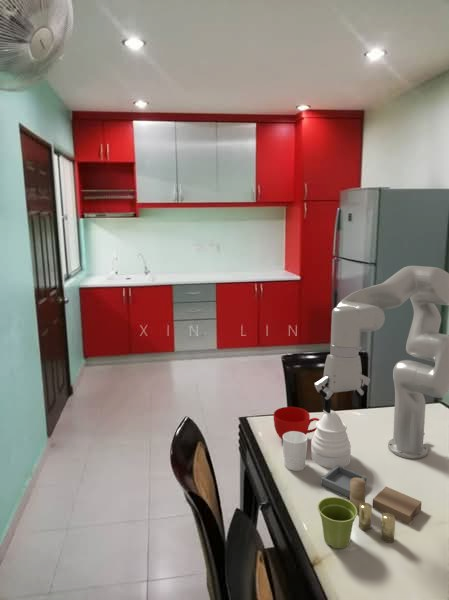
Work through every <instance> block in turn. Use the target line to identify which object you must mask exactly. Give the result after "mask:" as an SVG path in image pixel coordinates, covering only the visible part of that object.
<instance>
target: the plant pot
mask: <svg viewBox="0 0 449 600" xmlns="http://www.w3.org/2000/svg"><path fill="white" fill-rule="evenodd" d="M317 511H318V514H319V515H320V518H321V525H322V530H323V531H322V532H323V533H322V534H323V540H324V542H325V543H326V544H327V545H329V546H331V547H332V548H334V549H343V548H344V549H345V548H346V547H347V546H348V545H349V544H350V541H351V535H352V530H353V525H354V524H353V523H354V521H355V519H356V518H357V516H358V513H357V509H356V507H355V505H353V503H351V502H350V500H348V499H345V498H344V497H339V496H329V497H325V498H322V499H321V500H320V501H319V502H318V504H317Z"/></svg>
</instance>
